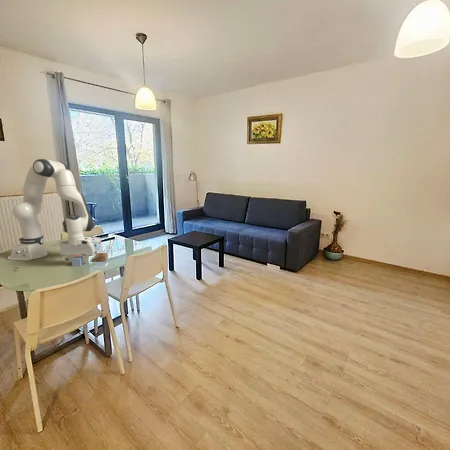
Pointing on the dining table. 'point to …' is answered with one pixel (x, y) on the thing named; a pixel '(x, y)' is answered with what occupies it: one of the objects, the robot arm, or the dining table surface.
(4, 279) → the dining table surface
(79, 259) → the slate block
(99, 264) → the tile
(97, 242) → the light bulb box
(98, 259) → the walnut block
